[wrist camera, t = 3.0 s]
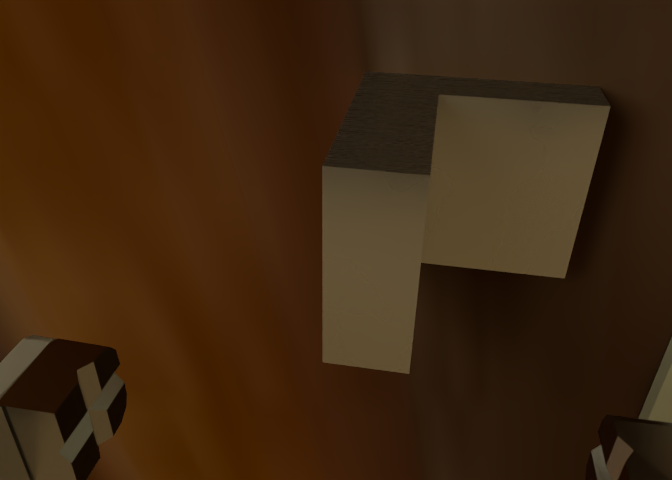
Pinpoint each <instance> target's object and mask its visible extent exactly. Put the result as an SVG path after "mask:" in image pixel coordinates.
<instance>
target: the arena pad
mask: <svg viewBox="0 0 672 480" xmlns="http://www.w3.org/2000/svg"><path fill="white" fill-rule="evenodd" d="M638 419H645V420H653V421H661V422H669V423H672V338H671V340H670V342H669V345H668V347H667V350H666V352H665V355H664V357H663V359H662V362H661V364H660V367H659V369H658V372H657V374H656V376H655V379H654V381H653V384H652V386H651V389H650V391H649V393H648V396H647V398H646V401H645V403H644V406H643V408H642V410H641V413H640V415H639V418H638Z"/></svg>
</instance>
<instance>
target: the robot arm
mask: <svg viewBox="0 0 672 480" xmlns="http://www.w3.org/2000/svg"><path fill="white" fill-rule="evenodd" d="M119 365H120V363H119V359H118V356H117V352H116V350H115V349H113V348H110V347H106V346H100V345H94V344H88V343H82V342H76V341H70V340H64V339H54V338H48V337H42V336H36V335H31V336H29V337H26V338H24V339H22V340H21V341H20V342H19V344H18V345H17V346H16V347H15V348H14V349H13V350H12V351H11V352H10V353H9V354H8V355H7V356H6V357H5V358H4V359H3V360H2V361H1V363H0V480H86V479H87V478H88V476H89V475H90V473H91V471H92V470H93V468H94V467H95V465H96V463H97V462H98V460H99V459H100V452H99V445H100V444H101V443H103V442H104V441H106V440H108V439H109V438H111V437H113V436H114V434H115V432H116V431H117V429H118V427H119V426H120V424H121V422H122V419H123V415H124V412H125V409H126V399H127V392H126V388H125V383H124V382H123V381H122V380H121V379H120V378H119V377H118V376H117V375H116V374H115V373H114V372H115V371H116V369H117V368H118V366H119ZM598 434H599V438H600V442H601V445H600V446H598V447H597V448H595V449H593V450H592V451H591V453H590V456H589V459H588V463H587V467H586V478H585V480H672V423H669V422H661V421H653V420H645V419H637V418H629V417H622V416H614V415H606V416H605V417H604V419H603V420H602V422H601V425H600V427H599V430H598Z"/></svg>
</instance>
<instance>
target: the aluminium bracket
mask: <svg viewBox="0 0 672 480" xmlns="http://www.w3.org/2000/svg"><path fill="white" fill-rule="evenodd" d="M610 107H611V106H610V104H609V103H608V101H607V99H606V98H605V96H604V94H603V93H602V91H601V89H600V87H599V86H586V85H570V84H555V83H539V82H524V81H508V80H493V79H478V78H462V77H447V76H431V75H416V74H400V73H385V72H370V71H366V72H365V74H364V76H363V79H362V81H361V83H360V85H359V87H358V89H357V92H356V94H355V96H354V98H353V100H352V103H351V105H350V107H349V109H348V111H347V113H346V116H345V118H344V120H343V122H342V124H341V127H340V129H339V131H338V133H337V135H336V138H335V140H334V142H333V144H332V146H331V148H330V151H329V153H328V155H327V157H326V159H325V162H324V164H323V166H322V187H323V362H326V363H333V364H340V365H348V366H355V367H362V368H370V369H377V370H384V371H392V372H399V373H407V374H409V371H410V361H411V352H412V342H413V333H414V324H415V314H416V305H417V295H418V286H419V276H420V267H421V263H428V264H437V265H446V266H455V267H464V268H473V269H483V270H492V271H501V272H510V273H519V274H528V275H537V276H547V277H556V278H565V275H566V272H567V268H568V264H569V260H570V257H571V253H572V249H573V245H574V242H575V238H576V234H577V230H578V227H579V223H580V219H581V215H582V212H583V208H584V204H585V200H586V197H587V193H588V189H589V186H590V182H591V178H592V174H593V171H594V167H595V163H596V159H597V156H598V152H599V148H600V144H601V141H602V137H603V133H604V129H605V126H606V122H607V118H608V114H609V111H610Z"/></svg>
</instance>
